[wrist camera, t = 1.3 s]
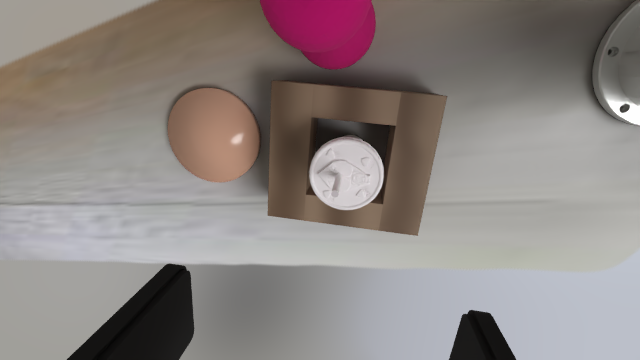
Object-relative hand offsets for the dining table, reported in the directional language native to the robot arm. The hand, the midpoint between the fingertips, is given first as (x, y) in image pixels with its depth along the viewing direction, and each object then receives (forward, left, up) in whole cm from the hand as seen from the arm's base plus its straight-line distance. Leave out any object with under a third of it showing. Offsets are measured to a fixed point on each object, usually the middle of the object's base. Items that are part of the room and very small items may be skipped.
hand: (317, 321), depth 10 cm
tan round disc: (+16, 0, -26) cm, 30 cm away
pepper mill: (+2, -12, -26) cm, 29 cm away
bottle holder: (0, 0, -26) cm, 26 cm away
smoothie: (0, 0, -26) cm, 26 cm away
